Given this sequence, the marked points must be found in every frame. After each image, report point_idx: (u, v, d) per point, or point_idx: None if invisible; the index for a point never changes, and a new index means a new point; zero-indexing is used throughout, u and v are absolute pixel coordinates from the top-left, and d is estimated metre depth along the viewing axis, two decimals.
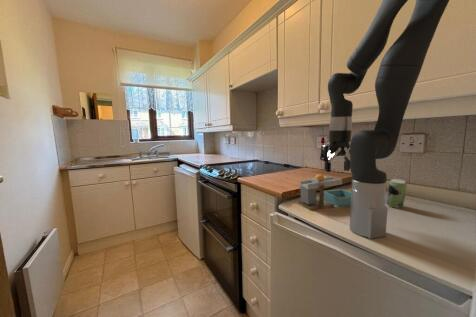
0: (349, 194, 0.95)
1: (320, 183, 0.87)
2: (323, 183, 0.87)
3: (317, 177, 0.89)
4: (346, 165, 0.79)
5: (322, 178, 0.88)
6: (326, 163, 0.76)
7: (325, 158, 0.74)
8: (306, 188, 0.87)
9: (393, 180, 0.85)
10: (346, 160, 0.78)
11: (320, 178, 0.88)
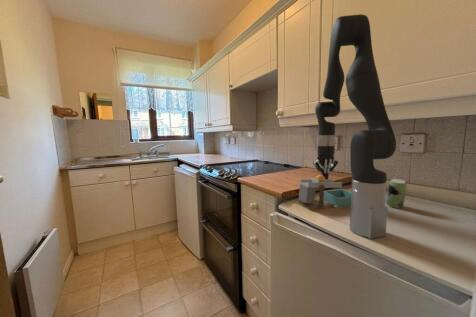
0: (349, 194, 0.95)
1: (320, 183, 0.87)
2: (323, 183, 0.87)
3: (318, 177, 0.89)
4: None
5: (323, 179, 0.88)
6: (322, 173, 0.96)
7: (322, 169, 0.95)
8: (306, 186, 0.87)
9: (393, 180, 0.85)
10: None
11: (321, 178, 0.88)
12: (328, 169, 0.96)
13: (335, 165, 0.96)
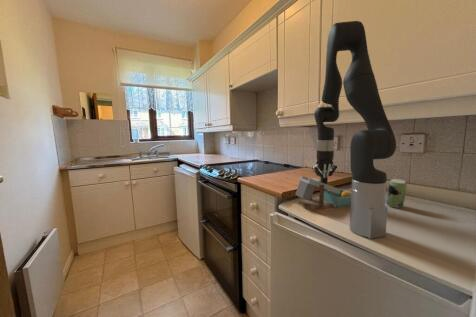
0: None
1: (321, 183, 0.87)
2: None
3: None
4: None
5: (349, 196, 0.93)
6: (321, 178, 0.97)
7: (321, 174, 0.95)
8: (306, 182, 0.86)
9: (393, 180, 0.85)
10: None
11: (349, 194, 0.93)
12: (327, 174, 0.96)
13: (334, 170, 0.97)
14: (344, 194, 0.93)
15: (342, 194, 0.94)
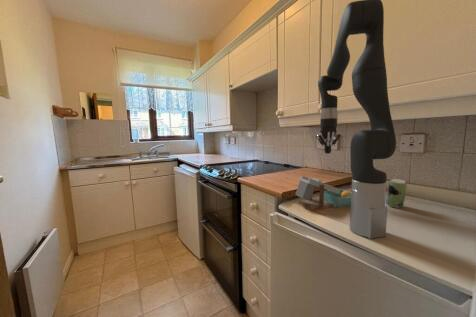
0: None
1: (321, 183, 0.87)
2: None
3: (348, 192, 0.94)
4: None
5: (349, 196, 0.93)
6: (325, 146, 0.98)
7: (324, 142, 0.97)
8: (306, 182, 0.86)
9: (393, 180, 0.85)
10: None
11: (349, 194, 0.93)
12: (331, 142, 0.98)
13: (337, 138, 0.98)
14: (343, 194, 0.93)
15: (342, 194, 0.94)
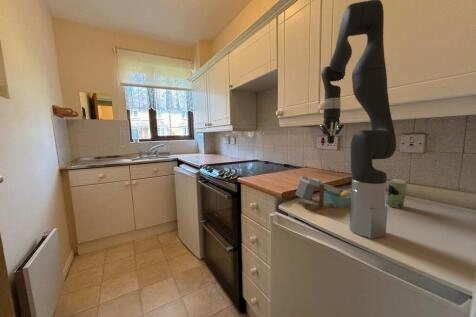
0: None
1: (321, 183, 0.87)
2: None
3: (347, 192, 0.94)
4: None
5: (349, 196, 0.93)
6: (328, 136, 1.00)
7: (328, 132, 0.98)
8: (306, 182, 0.86)
9: (393, 180, 0.85)
10: None
11: (348, 194, 0.93)
12: (334, 132, 0.99)
13: (341, 128, 1.00)
14: (343, 195, 0.93)
15: (341, 195, 0.94)
